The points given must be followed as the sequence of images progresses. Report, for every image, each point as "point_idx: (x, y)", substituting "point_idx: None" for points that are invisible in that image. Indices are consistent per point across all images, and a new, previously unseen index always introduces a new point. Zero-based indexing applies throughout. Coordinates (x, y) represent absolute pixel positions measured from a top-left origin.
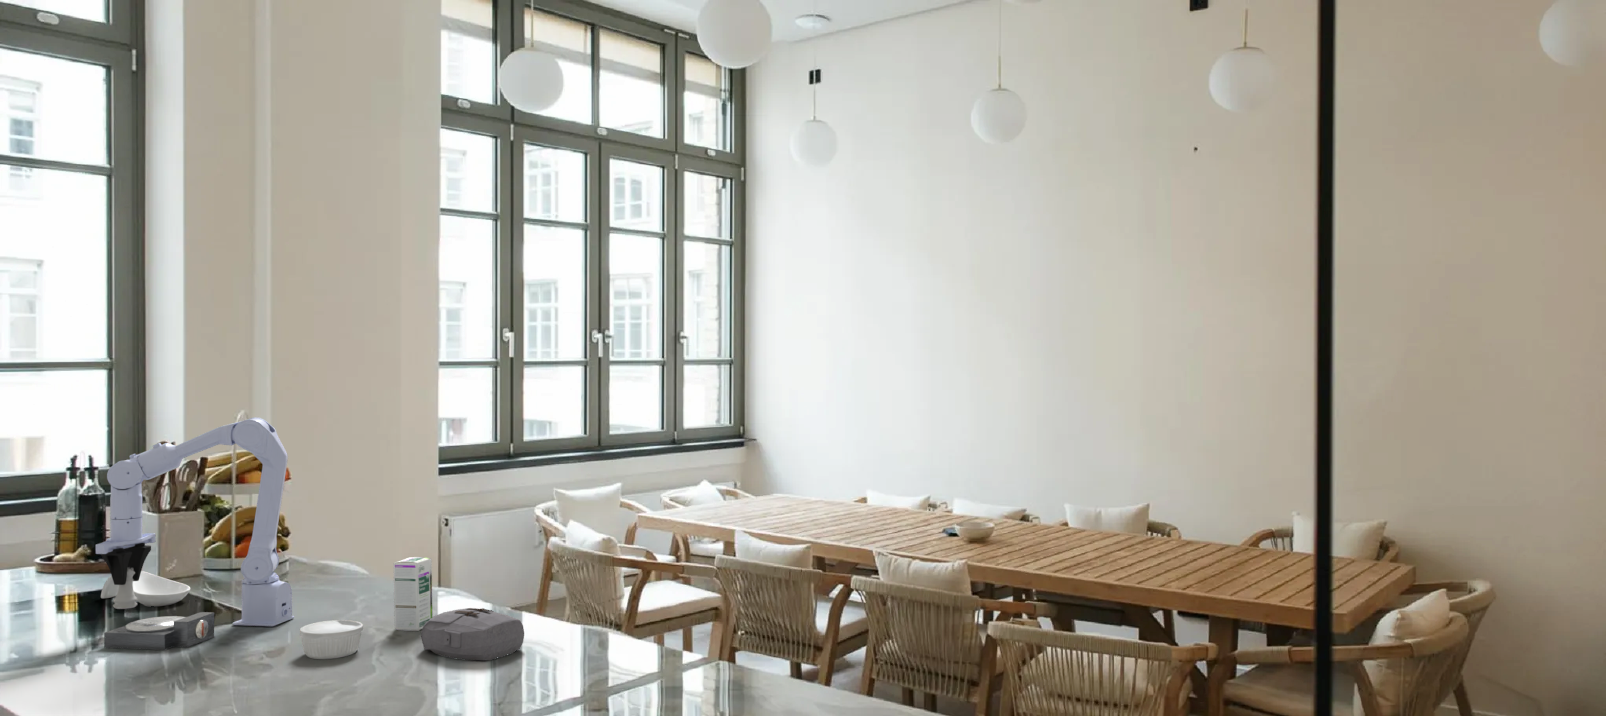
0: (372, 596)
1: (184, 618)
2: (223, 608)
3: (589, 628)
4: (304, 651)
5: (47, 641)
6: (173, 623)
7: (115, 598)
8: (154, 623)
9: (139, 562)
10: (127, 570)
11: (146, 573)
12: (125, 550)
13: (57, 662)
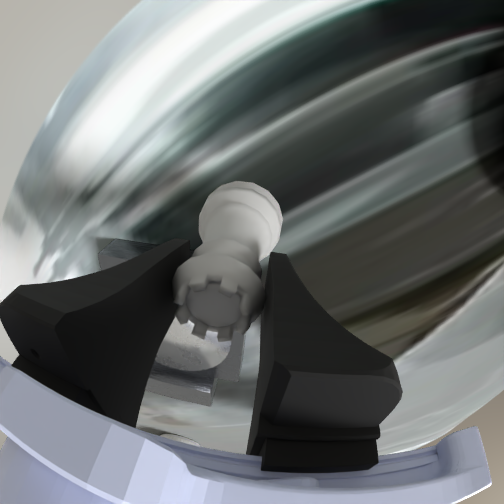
0: (439, 416)
1: (159, 383)
2: (458, 295)
3: None
4: (161, 436)
5: (143, 66)
6: (170, 357)
7: (208, 209)
8: None
9: (258, 378)
10: (201, 319)
11: None
12: (265, 386)
13: (43, 220)
